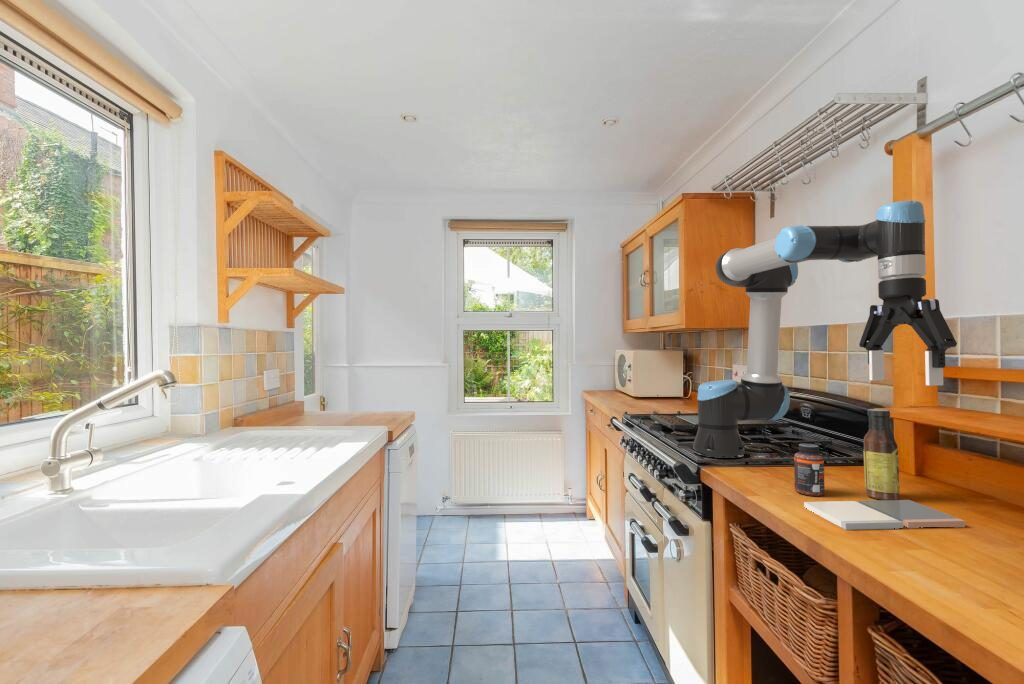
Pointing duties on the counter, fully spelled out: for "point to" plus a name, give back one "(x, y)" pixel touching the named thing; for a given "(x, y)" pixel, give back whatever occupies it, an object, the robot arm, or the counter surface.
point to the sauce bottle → (881, 458)
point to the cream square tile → (853, 515)
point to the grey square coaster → (914, 514)
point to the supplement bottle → (809, 470)
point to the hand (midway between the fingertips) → (903, 382)
